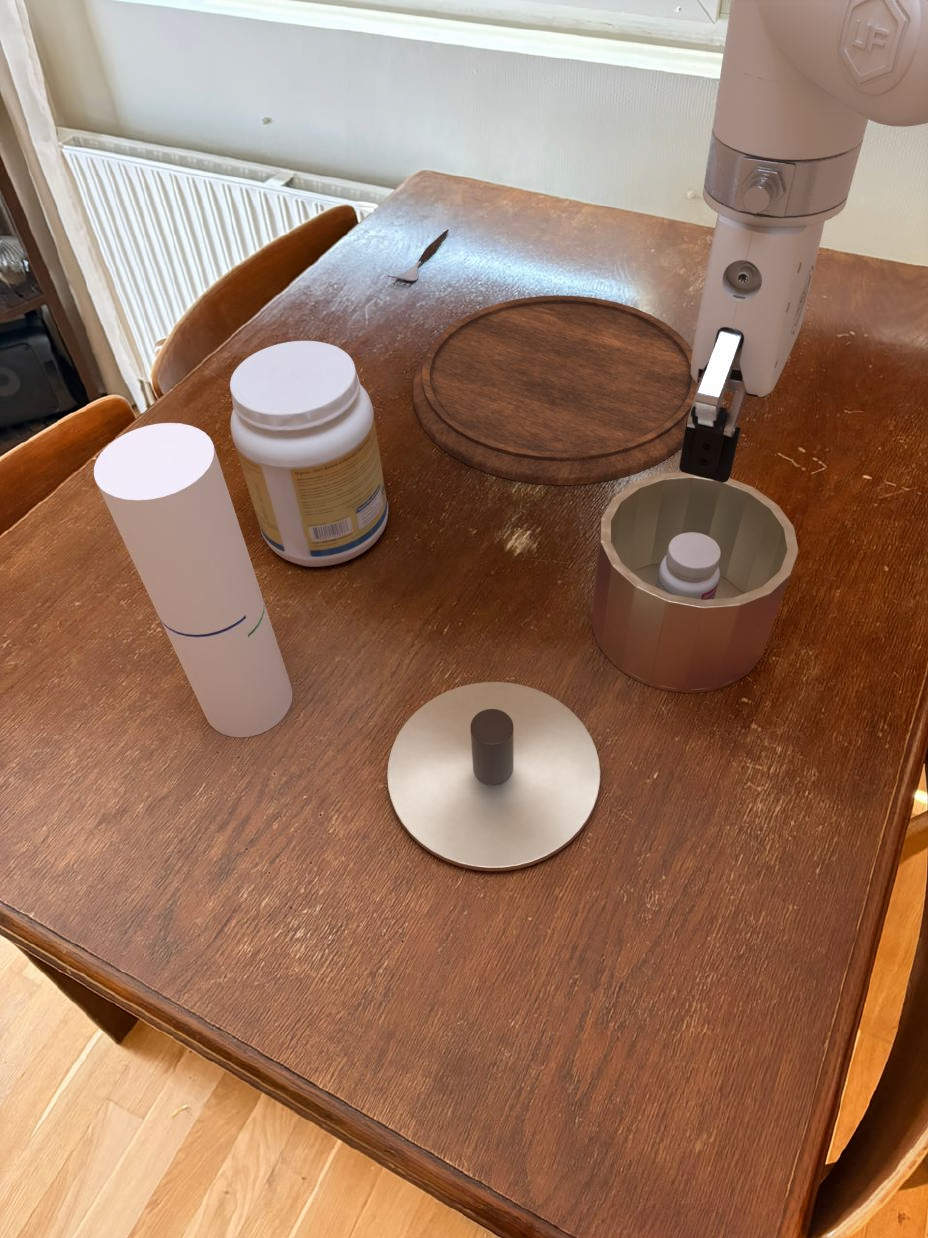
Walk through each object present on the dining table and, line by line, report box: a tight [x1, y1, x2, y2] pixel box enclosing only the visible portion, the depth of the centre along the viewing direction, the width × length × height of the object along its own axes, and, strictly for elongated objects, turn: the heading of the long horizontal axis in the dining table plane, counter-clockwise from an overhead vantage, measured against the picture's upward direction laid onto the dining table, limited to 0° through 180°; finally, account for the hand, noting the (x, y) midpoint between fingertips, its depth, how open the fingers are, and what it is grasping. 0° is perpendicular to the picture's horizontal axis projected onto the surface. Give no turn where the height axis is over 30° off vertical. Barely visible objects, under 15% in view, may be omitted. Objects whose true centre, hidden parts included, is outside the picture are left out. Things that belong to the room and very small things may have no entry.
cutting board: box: [412, 294, 699, 486], centre depth 97 cm, size 32×32×2 cm
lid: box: [386, 681, 602, 872], centre depth 65 cm, size 16×16×7 cm
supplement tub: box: [229, 340, 389, 568], centre depth 79 cm, size 12×12×17 cm
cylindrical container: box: [93, 422, 294, 738], centre depth 63 cm, size 7×7×25 cm
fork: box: [387, 229, 449, 282], centre depth 117 cm, size 3×16×2 cm, turn 156°
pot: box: [591, 471, 799, 694], centre depth 72 cm, size 15×15×10 cm
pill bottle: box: [656, 532, 721, 600], centre depth 72 cm, size 5×5×8 cm
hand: (724, 431), depth 60 cm, fingers open, 9 cm apart
